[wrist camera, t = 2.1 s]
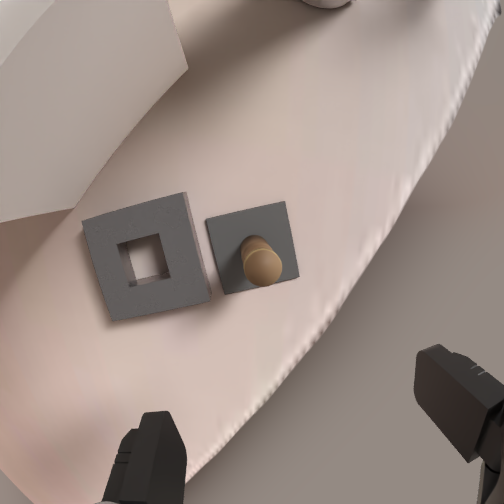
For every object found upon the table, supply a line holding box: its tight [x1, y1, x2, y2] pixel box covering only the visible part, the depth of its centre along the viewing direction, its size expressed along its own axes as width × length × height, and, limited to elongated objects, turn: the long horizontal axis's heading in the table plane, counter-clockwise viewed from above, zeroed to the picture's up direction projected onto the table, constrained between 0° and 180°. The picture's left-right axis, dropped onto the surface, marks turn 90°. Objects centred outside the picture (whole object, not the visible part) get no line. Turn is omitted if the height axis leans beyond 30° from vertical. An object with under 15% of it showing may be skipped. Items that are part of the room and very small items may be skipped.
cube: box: [0, 0, 189, 223], centre depth 19 cm, size 25×21×24 cm
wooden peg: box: [240, 235, 282, 287], centre depth 32 cm, size 3×3×9 cm
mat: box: [206, 201, 300, 294], centre depth 36 cm, size 9×9×1 cm
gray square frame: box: [82, 192, 211, 321], centre depth 34 cm, size 12×12×3 cm
